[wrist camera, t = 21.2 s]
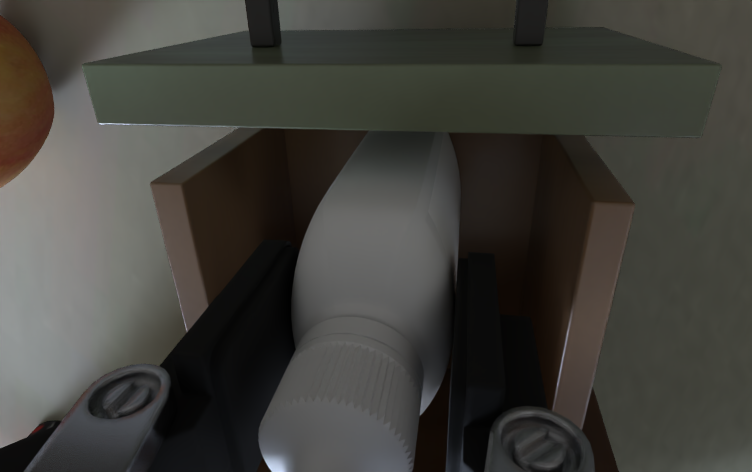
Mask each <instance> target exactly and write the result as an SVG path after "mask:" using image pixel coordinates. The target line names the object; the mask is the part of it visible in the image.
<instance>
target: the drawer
mask: <svg viewBox="0 0 752 472" xmlns="http://www.w3.org/2000/svg"><path fill="white" fill-rule="evenodd" d="M245 4H246V12H247V19H248V27H249V31H242V32H237V33H232V34H227V35H222V36H217V37H212V38H207V39H202V40H198V41H193V42H188V43H183V44H178V45H173V46H168V47H163V48H158V49H153V50H148V51H143V52H138V53H133V54H128V55H123V56H118V57H113V58H108V59H103V60H98V61H93V62H88V63H84V64H82V68H83V72H84V76H85V79H86V83H87V86H88V90H89V93H90V97H91V100H92V104H93V108H94V111H95V115H96V118H97V122H98V124H105V125H149V126H192V127H236V128H238V129H236V130H235V131H233V132H232V133H230V134H228V135H227V136H225V137H223V138H222V139H220V140H219V141H217V142H215V143H214V144H212V145H210V146H209V147H207V148H206V149H204V150H202V151H201V152H199V153H197V154H196V155H194V156H193V157H191V158H189V159H188V160H186V161H184V162H183V163H181V164H180V165H178V166H176V167H175V168H173V169H171V170H170V171H168V172H167V173H165V174H163V175H162V176H160V177H158V178H157V179H155V180H154V181H152V182H151V183H150V186H151V190H152V194H153V198H154V202H155V206H156V210H157V214H158V218H159V222H160V226H161V230H162V234H163V238H164V243H165V247H166V251H167V255H168V259H169V263H170V267H171V271H172V275H173V279H174V283H175V287H176V291H177V295H178V299H179V303H180V307H181V312H182V316H183V320H184V324H185V328H186V332H188V331H189V329H190V328H191V327H192V326H193V325H194V323H195V322H196V321H197V320H198V318H199V317H200V316H201V315H202V314H203V312H204V311H205V310H206V309H207V307H208V306H209V305H210V304H211V303H212V301H213V300H214V299H215V298H216V296H218V295H219V294H220V293H221V291H222V290H223V289H224V288H225V286H226V285H227V284H228V283H229V282H230V280H231V279H232V278H233V277H234V275H235V274H236V273H237V272H238V270H239V269H240V268H241V267H242V266H243V264H244V263H245V262H246V261H247V259H248V258H249V257H250V256H251V255H252V253H253V252H254V251H255V250H256V248H257V247H258V246H259V245H260V244H261V242H262V241H263V240H265V239H268V240H284V241H290V242H291V245H292V247H297V248H298V249H299V252H300V249H301V245H302V242H303V239H304V236H305V234H306V231H307V229H308V226H309V224H310V222H311V219H312V217H313V215H314V213H315V211H316V209H317V207H318V205H319V204H320V202H321V201H322V199H323V197H324V196H325V194H326V193H327V191H328V189H329V188H330V186H331V185H332V183H333V182H334V180H335V179H336V177H337V176H338V174H339V173H340V172H341V170H342V169H343V167H344V166H345V164H346V163H347V161H348V160H349V158H350V157H351V155H352V154H353V153H354V151H355V150H356V148H357V147H358V145H359V144H360V143H361V141H362V140H363V138H364V137H365V135H366V134H367V133H368V131H411V132H448V133H449V136H450V138H451V141H452V144H453V147H454V150H455V154H456V158H457V162H458V168H459V174H460V186H461V203H460V226H459V247H458V258H468V252H479V253H494V256H495V267H496V279H497V290H498V302H499V314H504V315H516V316H528V317H530V318H531V321H532V325H533V330H534V336H535V341H536V347H537V353H538V358H539V364H540V369H541V375H542V380H543V386H544V391H545V397H546V402H547V408H548V410H552V411H555V412H557V413H559V414H561V415H562V416H564V417H566V418H568V419H569V420H571V421H572V422H573V423H574V424H575V425H576V426H578V427H579V428H580V429H581V430H582V428H583V424H584V420H585V416H586V411H587V407H588V403H589V399H590V394H591V390H592V386H593V382H594V378H595V373H596V369H597V365H598V361H599V357H600V352H601V348H602V344H603V340H604V335H605V331H606V327H607V323H608V319H609V314H610V310H611V306H612V302H613V298H614V293H615V289H616V285H617V281H618V276H619V272H620V268H621V264H622V260H623V255H624V251H625V247H626V243H627V239H628V234H629V230H630V226H631V222H632V217H633V213H634V209H635V203H634V202H633V200H632V199H631V198H630V196H629V195H628V194H627V192H626V191H625V190H624V188H623V187H622V186H621V184H620V183H619V182H618V180H617V179H616V178H615V176H614V175H613V174H612V172H611V171H610V170H609V169H608V167H607V166H606V165H605V163H604V162H603V161H602V159H601V158H600V157H599V155H598V154H597V153H596V151H595V150H594V149H593V147H592V146H591V145H590V143H589V142H588V141H587V139H586V138H585V137H584V135H587V136H630V137H674V138H700V137H702V134H703V131H704V127H705V124H706V120H707V117H708V113H709V110H710V106H711V103H712V99H713V96H714V92H715V89H716V85H717V82H718V78H719V75H720V71H721V68H722V65H721V64H719V63H716V62H712V61H709V60H706V59H703V58H700V57H696V56H693V55H690V54H687V53H684V52H680V51H677V50H674V49H671V48H668V47H664V46H661V45H658V44H655V43H652V42H649V41H645V40H642V39H639V38H636V37H633V36H629V35H626V34H623V33H620V32H617V31H613V30H610V29H607V28H604V27H579V28H545V24H546V16H547V8H548V0H516V10H515V20H514V28H487V29H395V30H303V31H280V21H279V12H278V2H277V0H245ZM452 347H453V344H452ZM451 363H452V350H451V355H450V359H449V363H448V366H447V370H446V373H445V375H444V378H443V381H442V383H441V385H440V387H439V389H438V391H437V393H436V395H435V396H434V398H433V400H432V401H431V403H430V404H429V406H428V407H427V408H426V410H425V411H424V412H423V413H422V414H421V415H420V416H419V424H418V433H417V441H416V450H415V458H414V467H413V471H412V472H446V457H447V438H448V419H449V400H450V382H451Z"/></svg>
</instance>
